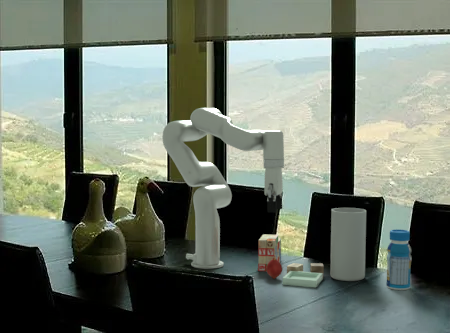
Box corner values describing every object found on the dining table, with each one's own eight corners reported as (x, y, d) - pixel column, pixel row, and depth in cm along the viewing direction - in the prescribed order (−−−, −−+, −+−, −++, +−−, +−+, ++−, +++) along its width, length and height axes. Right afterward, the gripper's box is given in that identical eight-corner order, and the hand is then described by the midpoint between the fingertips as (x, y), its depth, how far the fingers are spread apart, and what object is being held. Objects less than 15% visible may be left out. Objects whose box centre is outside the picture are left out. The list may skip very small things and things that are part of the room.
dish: (282, 284, 254) (282, 277, 254) (290, 277, 265) (290, 270, 265) (316, 287, 250) (316, 280, 250) (322, 279, 261) (322, 273, 261)
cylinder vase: (368, 275, 268) (369, 209, 266) (359, 283, 257) (361, 213, 255) (335, 272, 273) (337, 207, 271) (326, 279, 262) (327, 211, 260)
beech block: (286, 276, 267) (286, 266, 266) (293, 273, 272) (293, 263, 271) (296, 278, 265) (296, 267, 264) (303, 274, 270) (303, 264, 270)
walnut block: (311, 278, 265) (311, 265, 264) (310, 275, 269) (310, 263, 269) (323, 278, 264) (323, 266, 264) (322, 275, 269) (322, 263, 268)
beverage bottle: (396, 291, 245) (398, 233, 243) (380, 286, 253) (382, 229, 251) (415, 289, 249) (417, 231, 247) (399, 283, 256) (401, 228, 255)
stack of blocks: (266, 259, 296) (266, 230, 295) (281, 260, 295) (281, 230, 294) (257, 271, 275) (258, 239, 274) (274, 272, 274) (274, 240, 273)
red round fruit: (265, 276, 265) (265, 255, 264) (280, 276, 266) (280, 255, 265) (267, 280, 259) (267, 258, 259) (283, 280, 260) (283, 258, 259)
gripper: (269, 162, 272) (270, 207, 273) (258, 165, 256) (259, 213, 257) (288, 162, 270) (289, 207, 271) (278, 165, 254) (279, 213, 255)
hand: (275, 210), depth 264 cm, fingers open, 9 cm apart
